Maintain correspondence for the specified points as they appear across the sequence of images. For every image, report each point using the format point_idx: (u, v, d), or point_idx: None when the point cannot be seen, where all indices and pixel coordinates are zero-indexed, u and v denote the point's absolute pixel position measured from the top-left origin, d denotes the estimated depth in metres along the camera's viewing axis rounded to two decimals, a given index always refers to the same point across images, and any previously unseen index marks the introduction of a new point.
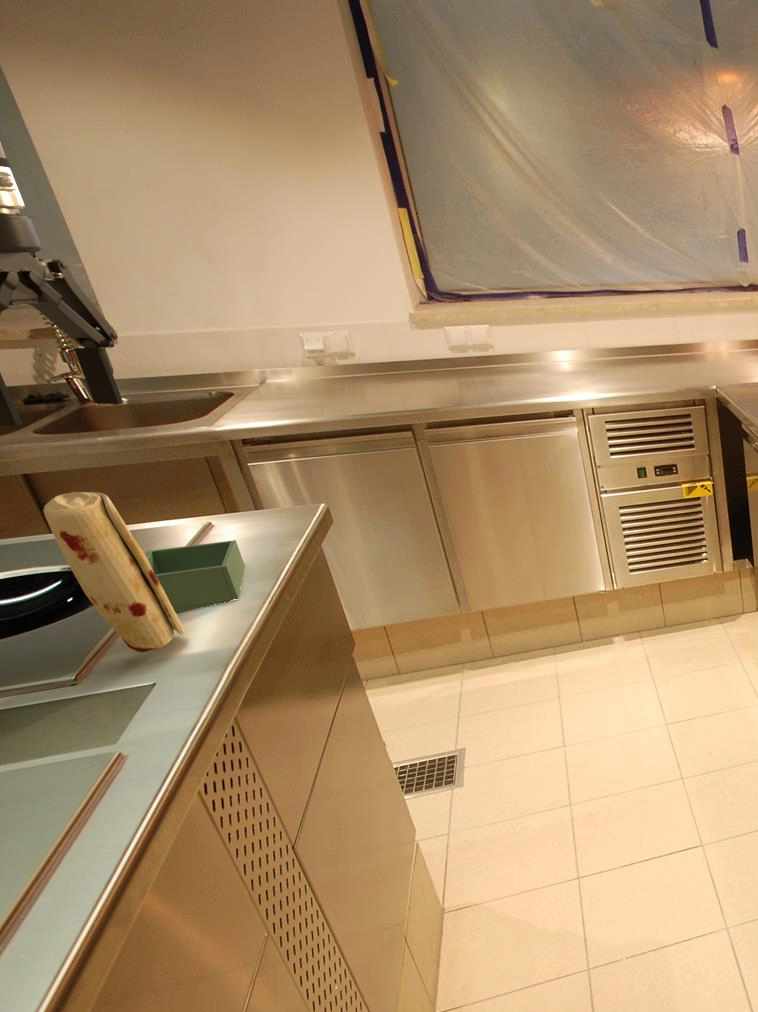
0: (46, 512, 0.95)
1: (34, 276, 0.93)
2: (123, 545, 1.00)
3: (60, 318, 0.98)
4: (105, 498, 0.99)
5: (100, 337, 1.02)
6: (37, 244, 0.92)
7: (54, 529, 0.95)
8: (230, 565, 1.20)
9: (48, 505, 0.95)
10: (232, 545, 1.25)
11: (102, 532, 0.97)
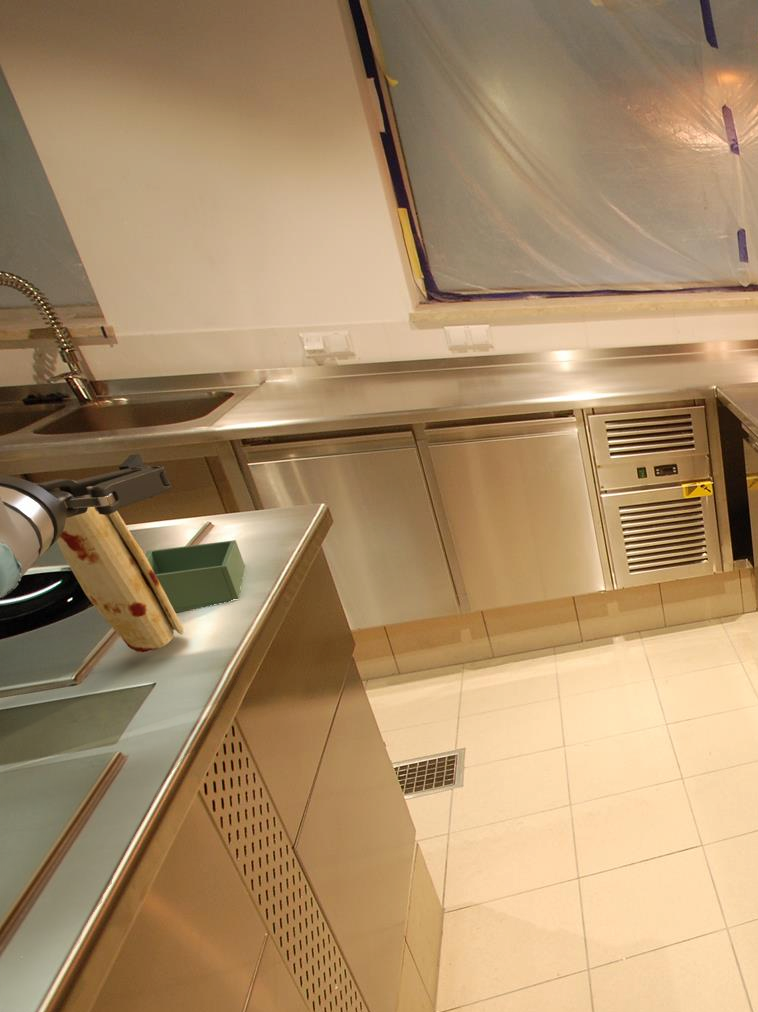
0: None
1: None
2: (123, 545, 1.00)
3: None
4: None
5: None
6: None
7: None
8: (230, 565, 1.20)
9: None
10: (232, 545, 1.25)
11: (102, 532, 0.97)
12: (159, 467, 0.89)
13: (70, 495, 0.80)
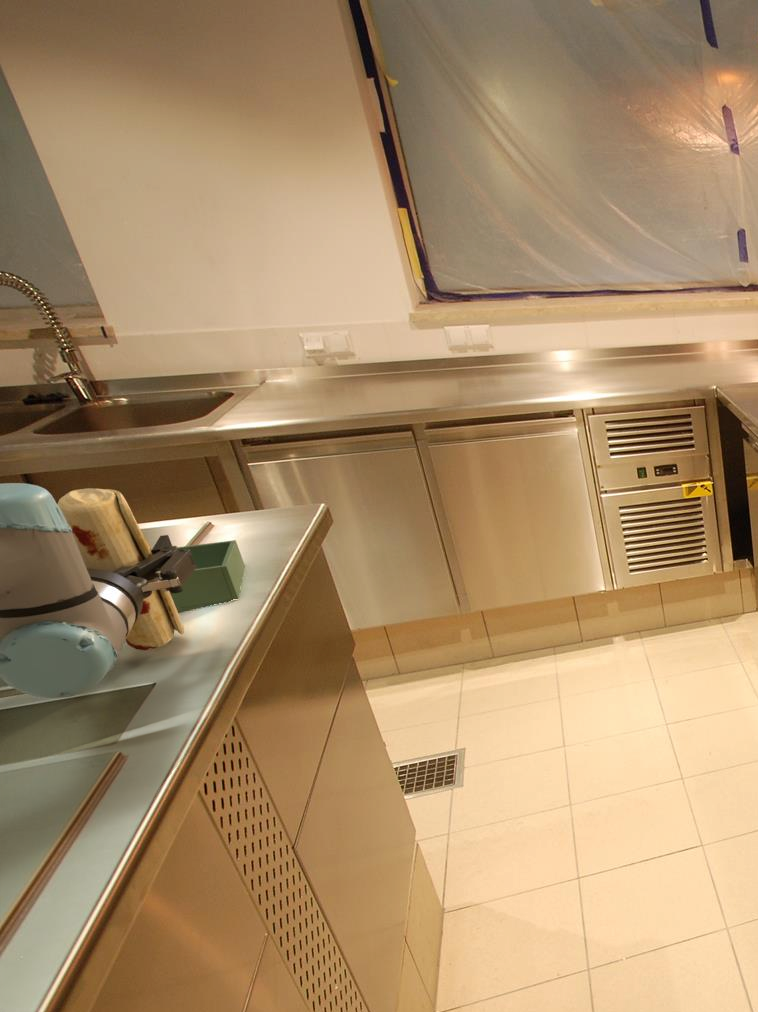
0: (60, 506, 0.96)
1: None
2: (133, 543, 1.01)
3: None
4: (119, 495, 1.00)
5: None
6: None
7: None
8: (230, 565, 1.20)
9: (62, 499, 0.96)
10: (232, 545, 1.25)
11: (113, 528, 0.98)
12: (187, 550, 1.04)
13: (146, 581, 0.95)
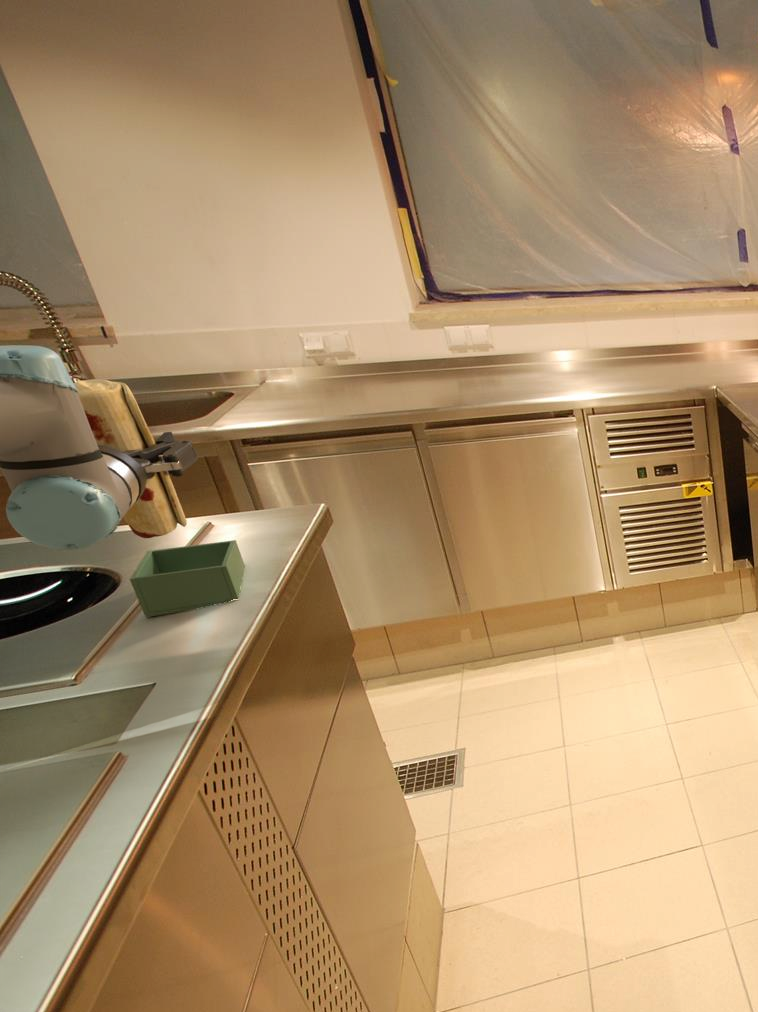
0: None
1: None
2: (138, 432, 1.06)
3: None
4: (125, 386, 1.05)
5: None
6: None
7: None
8: (230, 565, 1.20)
9: None
10: (232, 545, 1.25)
11: (119, 415, 1.04)
12: (189, 441, 1.09)
13: (149, 462, 1.01)
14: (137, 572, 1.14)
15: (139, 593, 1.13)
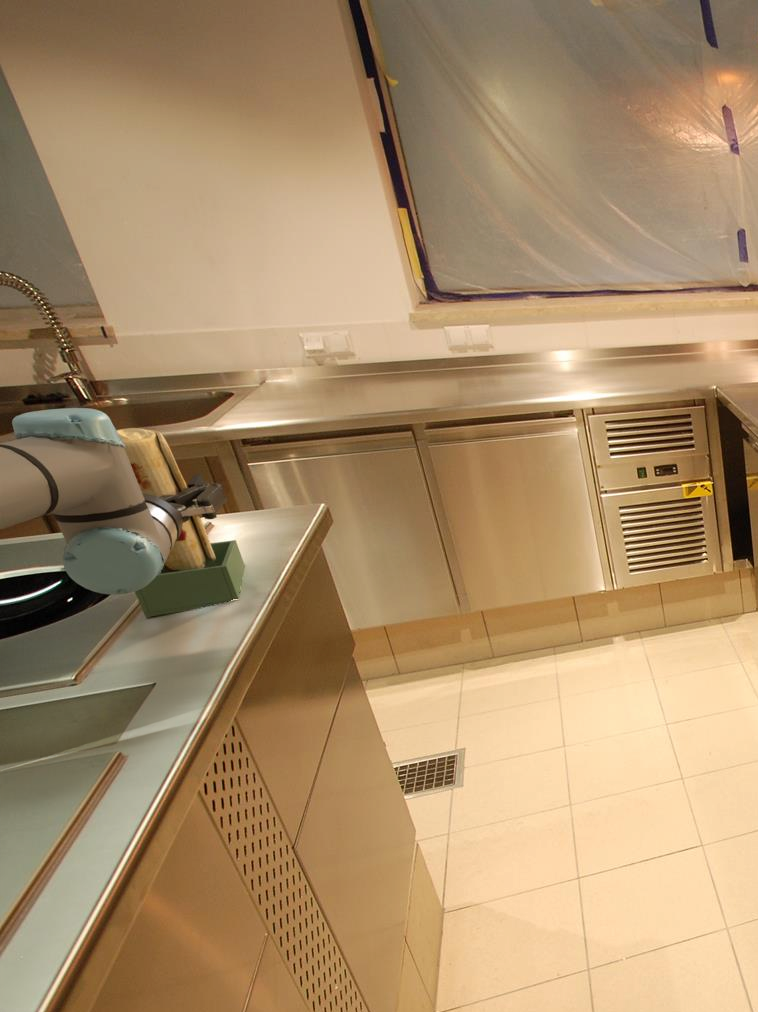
0: None
1: None
2: (171, 477, 1.14)
3: None
4: (159, 434, 1.13)
5: None
6: None
7: None
8: (230, 565, 1.20)
9: None
10: (232, 545, 1.25)
11: (155, 462, 1.11)
12: (218, 484, 1.16)
13: (184, 507, 1.08)
14: None
15: (139, 593, 1.13)
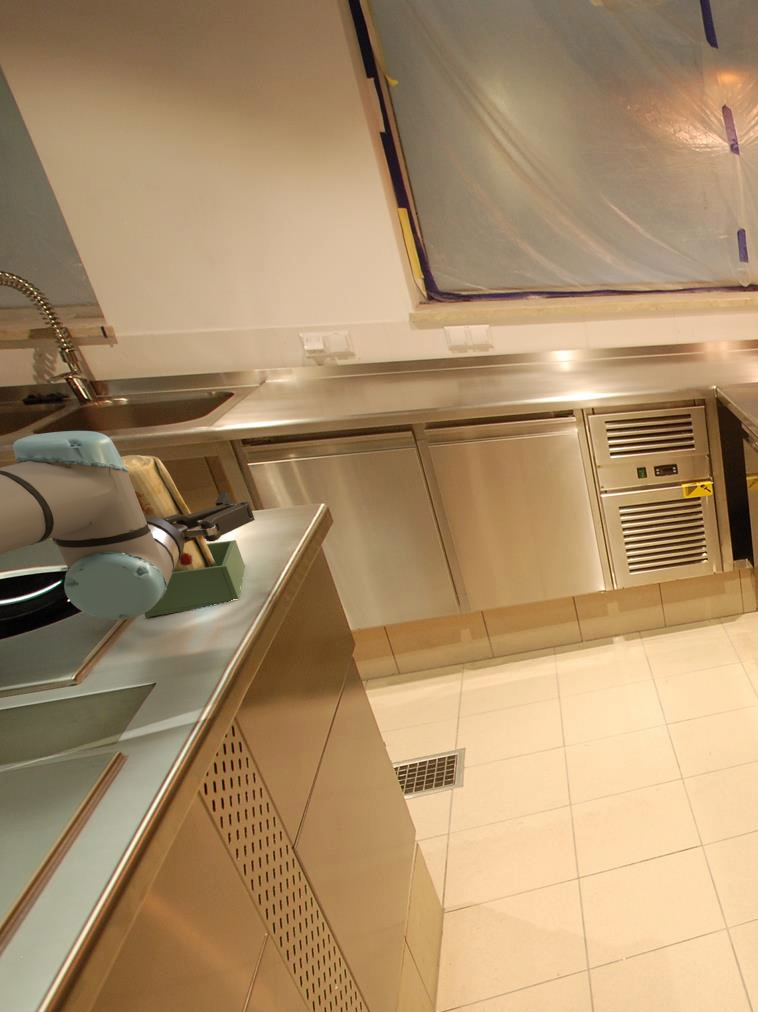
0: None
1: None
2: (173, 502, 1.15)
3: None
4: (157, 460, 1.13)
5: None
6: None
7: None
8: (230, 565, 1.20)
9: None
10: (232, 545, 1.25)
11: (155, 489, 1.12)
12: (246, 503, 1.15)
13: (186, 527, 1.07)
14: None
15: None
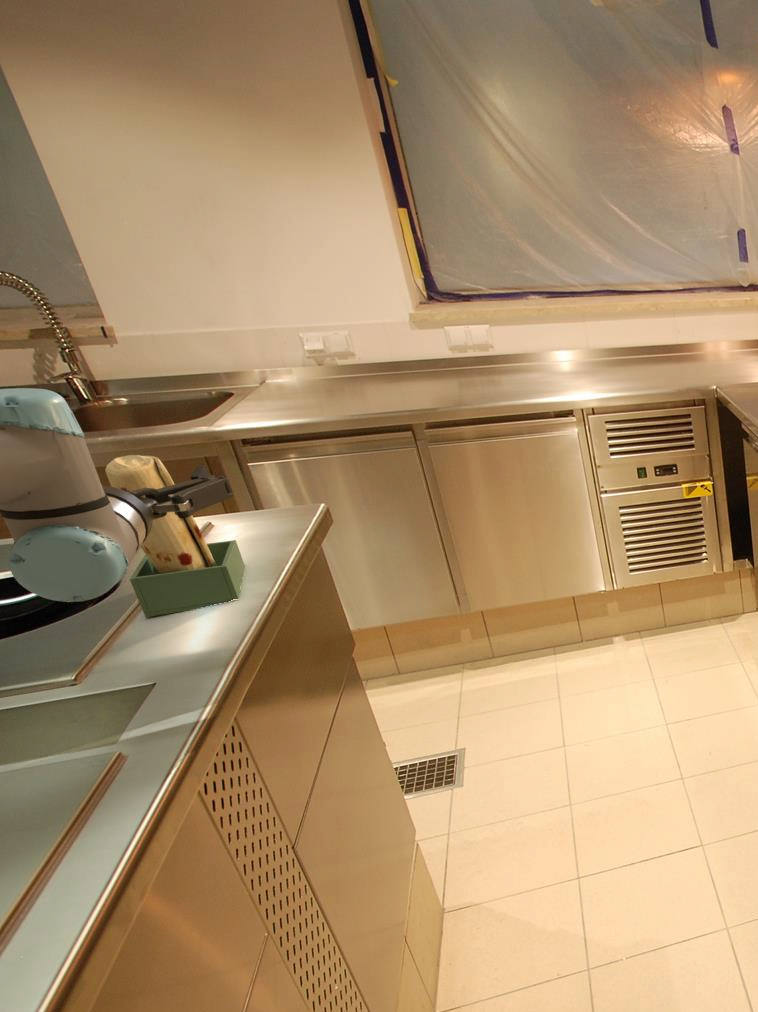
0: (108, 471, 1.09)
1: None
2: None
3: None
4: (157, 460, 1.13)
5: None
6: None
7: (115, 486, 1.10)
8: (230, 565, 1.20)
9: (110, 465, 1.10)
10: (232, 545, 1.25)
11: None
12: (224, 477, 1.05)
13: (155, 502, 0.97)
14: (137, 572, 1.14)
15: (139, 593, 1.13)
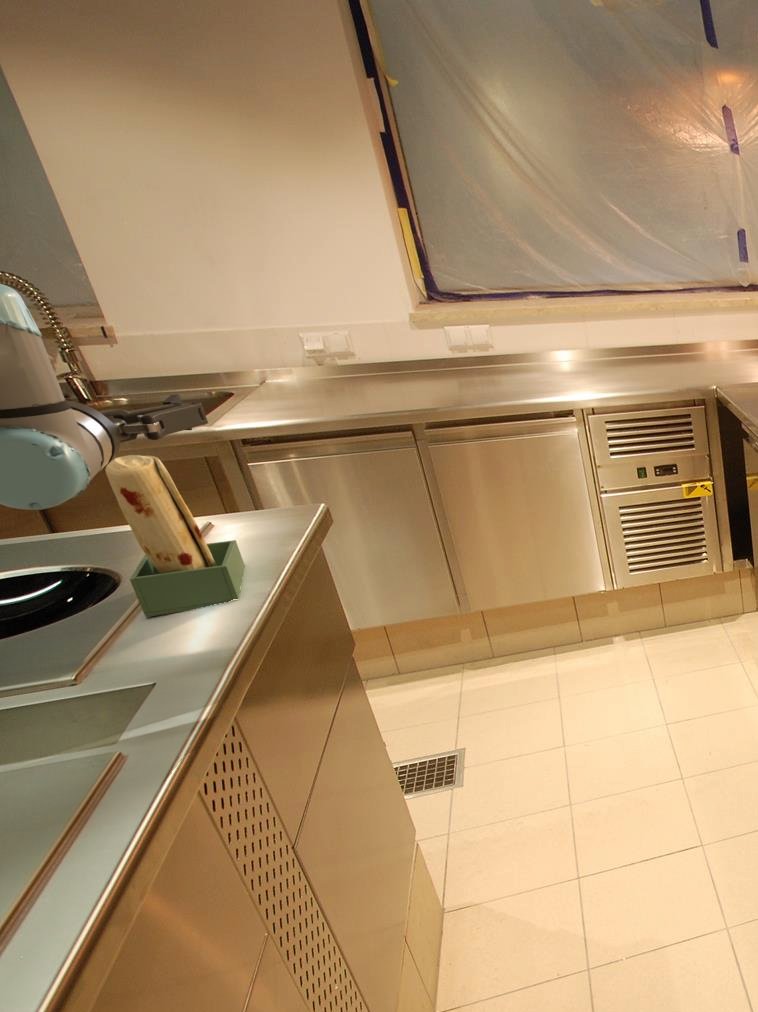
0: (108, 471, 1.09)
1: None
2: (173, 502, 1.15)
3: None
4: (157, 460, 1.13)
5: None
6: None
7: (115, 486, 1.10)
8: (230, 565, 1.20)
9: (110, 465, 1.10)
10: (232, 545, 1.25)
11: (155, 489, 1.12)
12: (197, 403, 1.01)
13: (124, 422, 0.93)
14: (137, 572, 1.14)
15: (139, 593, 1.13)
